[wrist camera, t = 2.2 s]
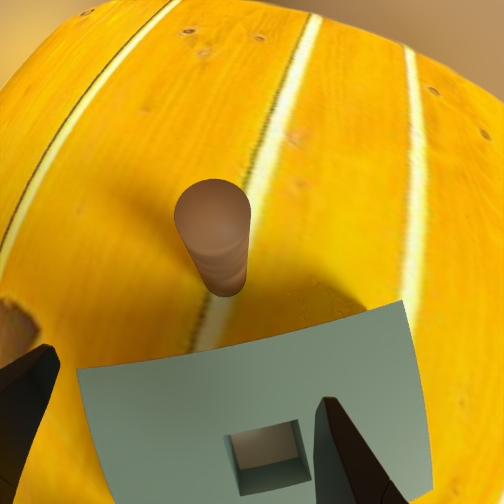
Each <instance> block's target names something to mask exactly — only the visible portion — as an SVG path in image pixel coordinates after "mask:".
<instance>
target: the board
mask: <svg viewBox="0 0 504 504" xmlns="http://www.w3.org/2000/svg"><path fill="white" fill-rule="evenodd" d="M76 372H77V377H78V382H79V387H80V392H81V396H82V401H83V405H84V409H85V413H86V417H87V421H88V425H89V428H90V432H91V436H92V439H93V442H94V446H95V449H96V452H97V455H98V458H99V461H100V464H101V467H102V470H103V473H104V476H105V479H106V481H107V484H108V487H109V489H110V492H111V494H112V497H113V499H114V502H115V504H316V493H315V478H314V464H313V448H314V425H315V412H316V409H317V407H318V405H319V403H320V401H321V399H322V398H323V397H324V396H330V397H336V398H337V399H338V401H339V402H340V404H341V405H342V407H343V408H344V410H345V411H346V413H347V414H348V416H349V417H350V419H351V420H352V422H353V423H354V425H355V426H356V428H357V429H358V431H359V432H360V434H361V435H362V437H363V438H364V440H365V441H366V443H367V444H368V446H369V447H370V449H371V450H372V452H373V453H374V455H375V456H376V458H377V459H378V461H379V462H380V464H381V465H382V466H383V468H384V469H385V471H386V472H387V474H388V475H389V477H390V480H392V481H393V483H394V484H395V486H396V487H397V488H398V490H399V491H400V493H401V494H402V495H403V497H404V498H405V499H406V501H407V502H410V501H412V500H414V499H416V498H418V497H420V496H422V495H424V494H425V493H427V492H429V491H431V490H433V475H432V461H431V450H430V440H429V432H428V424H427V416H426V410H425V403H424V397H423V391H422V385H421V380H420V374H419V369H418V364H417V359H416V355H415V350H414V345H413V341H412V337H411V333H410V328H409V324H408V320H407V316H406V312H405V309H404V305H403V301H402V300H400V301H397V302H394V303H391V304H388V305H385V306H382V307H378V308H375V309H372V310H369V311H366V312H362V313H359V314H356V315H352V316H349V317H345V318H342V319H338V320H335V321H331V322H328V323H324V324H320V325H317V326H313V327H309V328H305V329H301V330H297V331H293V332H289V333H285V334H281V335H277V336H273V337H269V338H264V339H260V340H256V341H251V342H247V343H242V344H237V345H232V346H228V347H223V348H218V349H213V350H207V351H202V352H197V353H191V354H186V355H180V356H174V357H168V358H162V359H155V360H149V361H142V362H135V363H127V364H120V365H112V366H103V367H94V368H85V369H76Z"/></svg>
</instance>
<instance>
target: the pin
mask: <svg viewBox="0 0 504 504" xmlns="http://www.w3.org/2000/svg"><path fill="white" fill-rule="evenodd" d="M250 219H251V208H250V203H249V200H248V198H247V196H246V195H245V193H244V192H243V191H242V190H241V189H240V188H239V187H238V186H236V185H235V184H233V183H231V182H228V181H225V180H221V179H208V180H203V181H200V182H197V183H195V184H193V185H192V186H190V187H189V188H188V189H186V190H185V191H184V192H183V193H182V195H181V196H180V198H179V199H178V201H177V204H176V206H175V211H174V220H175V225H176V228H177V230H178V232H179V234H180V236H181V238H182V240H183V242H184V244H185V246H186V248H187V249H188V251H189V253H190V255H191V257H192V259H193V261H194V263H195V265H196V267H197V269H198V271H199V272H200V274H201V276H202V278H203V280H204V282H205V284H206V286H207V287H208V289H209V290H210V291H211V292H212V293H214V294H215V295H218V296H221V297H230V296H233V295H235V294H237V293H238V292H239V291H240V290H241V289H242V288H243V286H244V284H245V281H246V272H247V259H248V246H249V232H250Z"/></svg>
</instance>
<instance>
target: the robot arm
mask: <svg viewBox="0 0 504 504" xmlns="http://www.w3.org/2000/svg"><path fill="white" fill-rule="evenodd" d="M59 370H60V360H59V358H58V356H57V353H56V351H55V348H54V347H53V346H51V345H48V344H42V345H40V346H38V347H36V348H35V349H33V350H31V351H30V352H28V353H26V354H25V355H23V356H21V357H20V358H18V359H16V360H15V361H13V362H11V363H10V364H8V365H6V366H5V367H3V368H2V369H0V504H13V501H14V497H15V494H16V490H17V487H18V483H19V480H20V477H21V474H22V471H23V468H24V465H25V462H26V459H27V456H28V454H29V451H30V448H31V445H32V443H33V440H34V437H35V435H36V432H37V430H38V427H39V425H40V422H41V420H42V417H43V415H44V413H45V410H46V408H47V405H48V403H49V400H50V397H51V394H52V391H53V387H54V384H55V381H56V378H57V375H58V372H59ZM313 464H314V478H315V493H316V504H409V503H408V502H407V501H406V499H405V498H404V497H403V495H402V494H401V493H400V491H399V490H398V488H397V487H396V486H395V484H394V483H393V481H392V480H390V477H389V475H388V474H387V472H386V471H385V469H384V468H383V466H382V465H381V464H380V462H379V461H378V459H377V458H376V456H375V455H374V453H373V452H372V450H371V449H370V447H369V446H368V444H367V443H366V441H365V440H364V438H363V437H362V435H361V434H360V432H359V431H358V429H357V428H356V426H355V425H354V423H353V422H352V420H351V419H350V417H349V416H348V414H347V413H346V411H345V410H344V408H343V407H342V405H341V404H340V402H339V401H338V399H337V398H336V397H330V396H324V397H323V398H322V399H321V401H320V403H319V405H318V407H317V409H316V412H315V425H314V448H313Z"/></svg>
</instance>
